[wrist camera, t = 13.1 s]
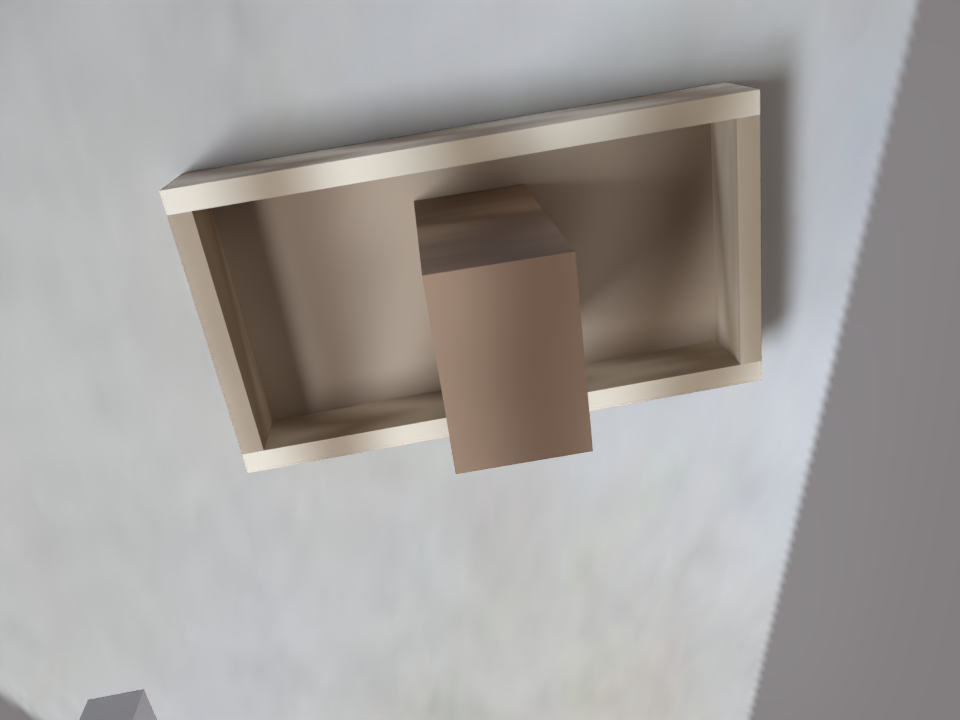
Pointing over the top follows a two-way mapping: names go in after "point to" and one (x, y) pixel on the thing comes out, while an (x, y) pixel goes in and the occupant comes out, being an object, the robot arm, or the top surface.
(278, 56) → the top surface
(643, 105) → the open wooden box
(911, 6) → the top surface
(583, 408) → the tan wooden block
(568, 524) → the top surface
